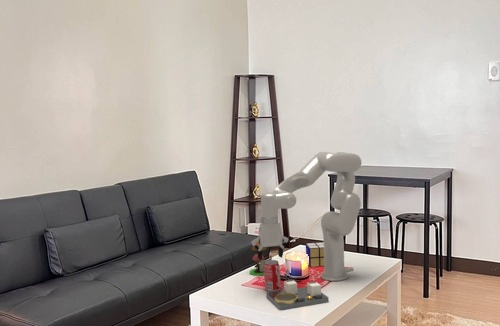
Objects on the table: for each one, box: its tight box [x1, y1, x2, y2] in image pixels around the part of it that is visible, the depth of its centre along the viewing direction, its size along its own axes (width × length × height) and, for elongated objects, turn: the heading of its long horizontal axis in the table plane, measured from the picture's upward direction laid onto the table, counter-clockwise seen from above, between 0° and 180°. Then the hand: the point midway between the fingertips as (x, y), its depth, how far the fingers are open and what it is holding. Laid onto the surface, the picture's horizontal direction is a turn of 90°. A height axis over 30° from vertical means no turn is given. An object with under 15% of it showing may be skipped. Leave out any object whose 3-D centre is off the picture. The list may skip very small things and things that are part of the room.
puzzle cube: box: [305, 241, 324, 268], centre depth 284 cm, size 10×10×10 cm
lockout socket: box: [275, 293, 298, 304], centre depth 229 cm, size 10×10×1 cm
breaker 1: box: [283, 279, 298, 294], centre depth 237 cm, size 4×5×5 cm
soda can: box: [263, 259, 282, 293], centre depth 247 cm, size 7×7×13 cm
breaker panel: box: [265, 286, 330, 311], centre depth 234 cm, size 22×16×3 cm
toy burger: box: [249, 242, 273, 277], centre depth 272 cm, size 12×13×15 cm
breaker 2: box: [306, 281, 322, 296], centre depth 234 cm, size 4×5×5 cm
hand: (270, 258), depth 246 cm, fingers open, 9 cm apart
